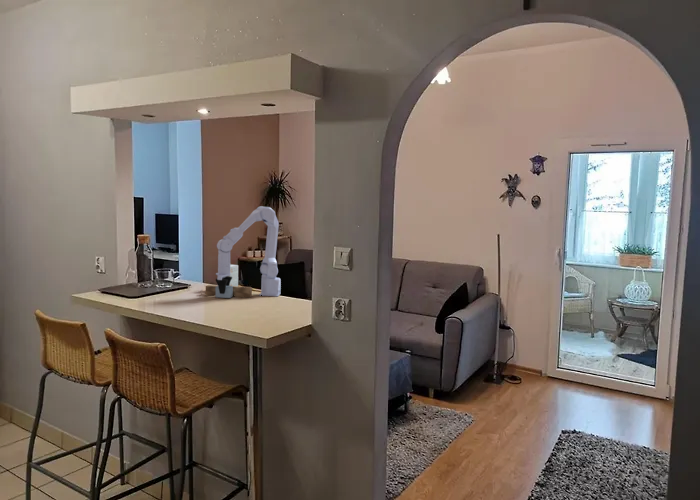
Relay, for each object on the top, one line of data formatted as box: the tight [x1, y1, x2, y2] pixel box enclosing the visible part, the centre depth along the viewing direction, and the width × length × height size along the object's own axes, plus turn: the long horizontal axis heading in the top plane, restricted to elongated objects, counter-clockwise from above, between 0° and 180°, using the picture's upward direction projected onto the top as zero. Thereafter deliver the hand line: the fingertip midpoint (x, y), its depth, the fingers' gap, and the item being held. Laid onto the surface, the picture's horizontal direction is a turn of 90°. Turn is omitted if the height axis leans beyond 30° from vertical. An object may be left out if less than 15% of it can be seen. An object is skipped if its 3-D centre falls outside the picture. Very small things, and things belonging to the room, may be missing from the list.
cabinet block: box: [215, 286, 233, 299], centre depth 258 cm, size 8×4×5 cm, turn 86°
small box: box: [229, 263, 239, 286], centre depth 276 cm, size 8×6×13 cm
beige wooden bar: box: [205, 284, 253, 298], centre depth 263 cm, size 22×4×4 cm, turn 86°
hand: (223, 292), depth 258 cm, fingers closed on cabinet block, 4 cm apart
